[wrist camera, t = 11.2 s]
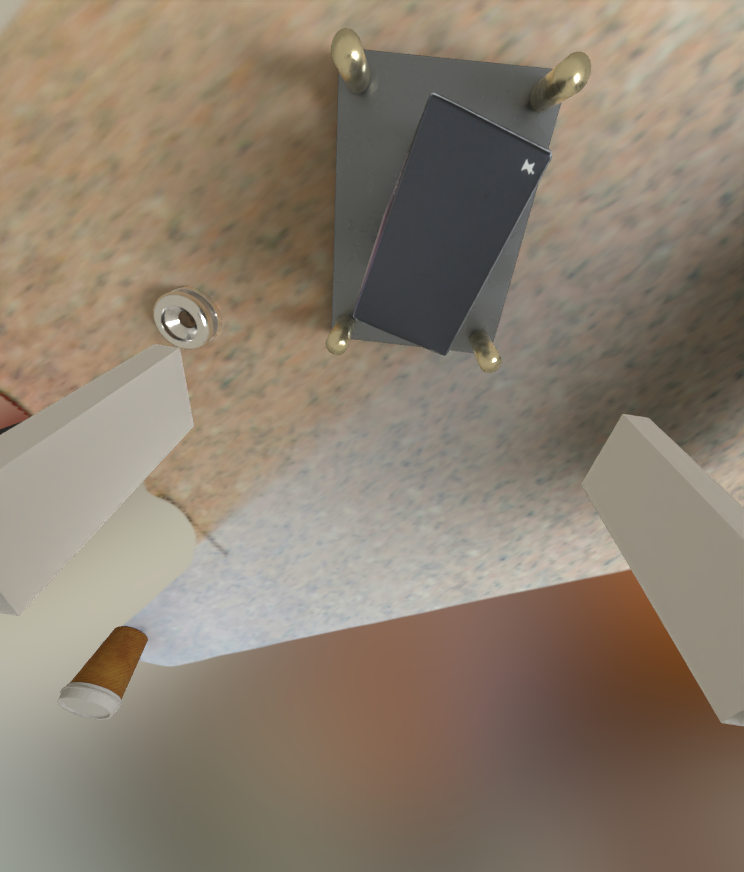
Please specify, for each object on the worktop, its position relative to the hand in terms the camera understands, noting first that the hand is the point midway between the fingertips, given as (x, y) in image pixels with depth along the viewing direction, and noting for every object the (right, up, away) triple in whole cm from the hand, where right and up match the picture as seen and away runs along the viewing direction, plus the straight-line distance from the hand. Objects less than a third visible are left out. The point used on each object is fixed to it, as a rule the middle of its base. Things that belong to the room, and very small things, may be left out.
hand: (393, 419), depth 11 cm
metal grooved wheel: (-17, +11, +23) cm, 30 cm away
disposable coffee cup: (-46, -38, +58) cm, 84 cm away
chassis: (+4, +16, +17) cm, 23 cm away
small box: (+4, +15, +16) cm, 22 cm away
